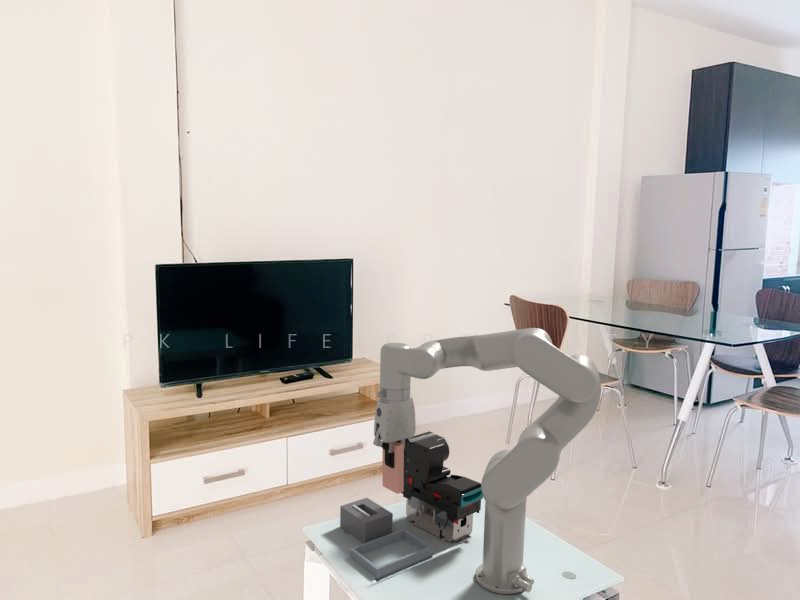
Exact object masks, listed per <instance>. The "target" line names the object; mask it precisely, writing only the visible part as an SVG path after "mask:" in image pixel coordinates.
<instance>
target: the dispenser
mask: <svg viewBox="0 0 800 600" xmlns="http://www.w3.org/2000/svg"><path fill="white" fill-rule="evenodd" d="M339 508H340V512H339V514H340V516H339V517H340V518H339V519H340V522H339V523H340V524H339V527H340V528H341V529H343V530H344V531H345V532H347V533H348V534H349V535H350V536H353V538H355V539H356V540H357V541H359V542H361V544H364V543H367V542H369V541H372V540H375V539H377V538H380V537H383V536H385V535H388V534H391V533H393V519H394V518H393V517H394V514H393V513H392V512H391V511H389V510H388V509H387V508H385V507H383V506H382V505H380V504H378V503H376V502H374V501H373V500H371V499H370V498H368V497H364V498H362V499H358V500H354V501H352V502H349V503H345V504H342V505H340V507H339Z"/></svg>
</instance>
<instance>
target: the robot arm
mask: <svg viewBox="0 0 800 600" xmlns="http://www.w3.org/2000/svg"><path fill="white" fill-rule="evenodd" d="M379 362H380V364H379V365H380V366H379V367H380V368H379V370H380V371H379V391H377V392H376V397H377V398H379V399H378V400H377V403H376V407H375V412H374V423H373V435H374V439H373V442H372V443H373V445H374V446H376V447H379V448H382V451H383V450H385V465H387V466H389V467H390V468H394V452H393V442H395V441H396V442H398V443H401V444H403V445H404V448H405V444H406V443H407V441H408V440H410V439H411V438H412V437H413V436H415V435H416V410H415V404H414V403H415V402H414V399H413V397H411V382H412V381H411V380H412V379H411V378H415V379H419V380H428V379H430V378H432V377H434V376H435V374H437V373H438V371H440V370H443V369H450V368H458V367H472V368H475V369H478V370H480V371H483V372H490V371H497V370H498V371H499V370H505V369H511V368H512V369H513V368H519V369H520V370H521V371H523V372H524V373H525V374H526V375H528V376H529V377H531V378H532V379H534V380H535V381H536V382H538V383H539V384H541V385H542V386H544V387H545V388H547V389H549V391H550V390H551V392H554V394H556V395H558V397H557V399H555V401H554V402H553V403H552V404H551V405H550V406H549V407H548V408H547V410H545V411H544V412H543V413H541V414H540V416H539V417H537V418H536V419H535V420H534V421H532V422H531V424H530V425H528V426H526V428H524V430H522V432H521V433H520V435H519V438H518V441H517V443H516V445H515V446H514V447H513V448H512V449H504V450H503V449H502V450H500V451H498V452H496V453H495V454H493V455H492V456H491V458H490V459H489V460H488V463H487V465H486V467H485V470H484V473H483V475H482V478H481V482H480V483H481V491H482V495H483V499H484V501H485V502H484V503H485V506H484V523H483V525H484V526H483V545H482V547H483V549H482V563H481V564H480V565H478V567H477V568H476V570H475V580H476V581H477V583H478V584H479V585H480V586H481V587H482V588H484V589H486V590H487V591H490V592H492V593H496V594H500V595H513V594H518V593H521V592H526V593H530V592H531V591H532V588H533V585H534V583H535V579H533V578H532V577H530V576H529V574H528V573H527V566H525V565H523V564H524V547H525V531H526V529H525V528H526V527H525V526H526V512H527V511H526V510H527V499H528V498H527V497H528V496H530V495H531V494H532V493H533V492H535V490H537V489H538V488H539V487H540V486H541V485H543V484H544V483H545V482H546V481H547V480H548V479H549V478H550V477H551V476H552V474H553V473H554V472H555V470H556V469H557V467H558V465H559V462H560V456H561V452H562V451H563V449H564V448H565V447H566V446H567V445H568V444H569V443H570V442H572V441H573V439H574V438H576V437H577V436H578V435H579V433H581V432H582V431H583V430H585V429H584V428H586V427H587V425H589V423H590V422H591V420H592V419H593V417H595V415H596V412H597V410H598V408H599V404H600V401H601V395H602V382H601V377H600V373H599V369H598V367H597V365H596V364H595V362H594V361H593V360H592V358H590V357H588V356H587V355H584V354H573V355H569V354H567V353H565V352H564V351H562V350H561V349H559V348H558V347H557V346H555V345H554V344H553V341H552V338H551V337H550V335H549V334H548V332H547V331H546V330H544V329H542V328H537V327H528V328H521V329H520V328H519V329H513V330H509V331H508V330H507V331H506V330H505V331H500V332H494V333H493V332H492V333H487V334H485V333H484V334H477V335H476V334H475V335H469V336H466V335H465V336H454V337H448V338H441V339H434V340H429V341H427V342H424V343H422V344H421V345H419V346H416V347H413V348H412V347H410V345H408V344H406V343H402V342H389V343H388V342H387V343H385V344H383V345H382V346H381V348H380V361H379Z"/></svg>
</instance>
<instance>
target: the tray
mask: <svg viewBox="0 0 800 600" xmlns="http://www.w3.org/2000/svg"><path fill="white" fill-rule="evenodd" d="M402 539H405V540H406V541H408V542H409V543H410V544H412V545H414V546H415V547H417V548H418V550H416V551H413V552H410V553H409V554H406V555H404V556H402V557H399V558H397V559H394V560H392V561H390V562H387V563H384V564H381V565H379V566H377V565H376V564H375V563H373V562H372V561H371V560H369V559H368V558H366V557H365V556H364V555H363V554H366V553H367V552H371V551H372V550H375V549H378V548H381V547H383V546H386V545H387V544H391V543H393V542H396V541H399V540H402ZM433 548H434V546H432V544H429V543H427V542H426V541H425V540H424V539H422V538H420V537H418V536H417V535H415V534H413V533H412V532H411V531H409V530H407V529H406V528H402V529H399V530H396V531H394V532H393V531H392V533H391V534H388V535H385V536H383V537H380V538H377V539H375V540H372V541H369V542H367V543H364V544H363V543H361V544H359V545H355V546H354V547H350V548H349V557H350V558H351V559H352V560H354V561H355V563H358V565H360V566H361V567H362V568H364V569H365V570H366V571H368V572H369V573H370V574H372V575H373V576H374V577H375V579H373V580H374V581H376V582H379V581H381V580H383V579H386V578H389V577H390V576H392V575H394V574H397V573H400V572H402V571H405V570H407V569H409V568H411V567H414V566H416V565H419V564H422V563H423V562H425V561H427V560H430V559H432V558H433V550H434V549H433Z"/></svg>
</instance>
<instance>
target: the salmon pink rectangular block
mask: <svg viewBox="0 0 800 600" xmlns="http://www.w3.org/2000/svg"><path fill="white" fill-rule="evenodd" d="M393 452H394V468H390V467H389V466H387V465H385V450H383V449H382V487H384V488H385V489H387V490H389V491H391V492H393V493H395V494H402V493H401V492H404V445H403V444H401V443H398V442H396V441H395V442H393Z"/></svg>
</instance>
